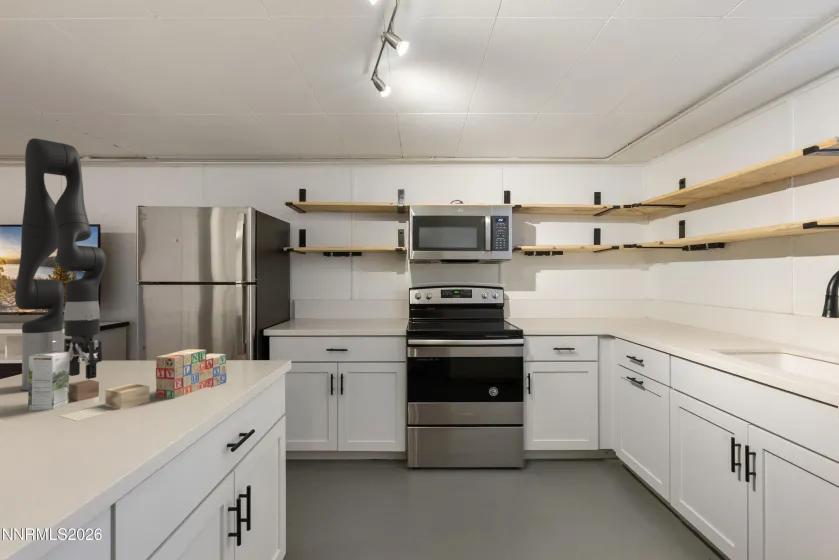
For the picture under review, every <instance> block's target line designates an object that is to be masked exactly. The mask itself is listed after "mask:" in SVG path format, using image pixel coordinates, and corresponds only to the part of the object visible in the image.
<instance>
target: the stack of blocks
mask: <svg viewBox="0 0 839 560" xmlns="http://www.w3.org/2000/svg"><path fill="white" fill-rule="evenodd" d="M155 360H156V362H155V365H156V367H155V381H156V384H155V387H156V389H155V397H156V398H167V399H176V398H177V399H178V398H179V397H183V396H185V395H188V394H191V393H194V392H196V391H197V392H198V391H200V390H202V389H204V388H205V389H206V388H209V387H211V388H213V387H212V386H214V387H216V386H215V385H217V386H219V385H222V384H225V383H226V382H227V373H228V371H227V353H225V354H224V353H207V349H193V348H191V349H190V348H188V349H184V350H183V349H182V350H179V351H175V352H171V353H168V354H162V355H158V356H156V359H155ZM224 382H225V383H224ZM221 383H222V384H221ZM218 384H219V385H218Z"/></svg>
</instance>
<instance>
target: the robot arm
mask: <svg viewBox="0 0 839 560" xmlns="http://www.w3.org/2000/svg"><path fill="white" fill-rule="evenodd" d="M24 159H25V161H24V163H25V165H24V167H25V171H24V172H25V175H24V176H25V194H24V195H25V196H24V206H23V215H22V224H21V236H20V237H21V240H20V241H21V243H20V260H19V267H18V272H17V278H16V283H15V284H16V285H15V291H14V302H15V305H16V307H17V309H19V310H21V311H22V310H23V311H25V310H27V311H28V310H29V311H30V310H32V311H34V310H35V311H36V310H47V312H46V313H44V315H42V316H40V317H38V318H35V319H32V320H29V321H25V322H24V323H22V325H21V359H22V361H21V389H22V391H28V384H29V356H31V355H36V354H40V353H45V352H50V351H64V352H69V353H70V359H69V377H74V376H79V375H80V374H81V373H80V371H81V370H80V369H81V368H80V365H81V363H80V360H81V359H83V360H84V362H85V379H86V380H92V379H95V378H96V377H97V364H98V363H101V362H103V355H102V354H103V353H102V340H101V339H95V338H94V336H95V335H99V334H100V333H101V332H100V330H101V327H100V323H101V320H100V318H101V317H100V316H101V315H100V313H101V312H100V311H101V309H100V304H99V286H100V283H101V279H102V277H103V273H104V270H105V268H106V265H107V257H106V253H105V252H104V250H103V249H102V248H100V247H98V246H90V245H78V244H77V243H79V242H84V241H86V240H89V238H91V236H92V230H91V226H90V221H89V218H88V215H87V212H86V211H87V210H86V207H85V199H84V183H83V170H82V164H81V163H82V162H81V158H80V154H79V152H78V150H77V149H76V148H75V146H73V145H70V144H68V143H63V142H56V141H52V140H46V139H41V138H36V137H35V138H34V137H33V138H31V139H29V140H28V141H27V144H26V147H25V156H24ZM45 174H47V175H55V176H62V177H64V178H65V180H66V186H65V188H64V191H63V192H62V194H61V195H60V197H59V198H58V200H57V201H56V203H55V201H54V200H53V198H52V197H51V195H50V193H49V192H48V190H47V187H46V183H45ZM55 252H56V256H55V258H56V259H55V260H56V263H57V264H58V266H59V267H60V268H61V269H62V270H63V271H64V270H65V271H69V272H84V273H83V275H82V277H81V278H78V279H73V280H69V281H67V282H66V284H65V286H64V284H63V282H62V281H61V280H60V279H45V278H44V279H39V278H38V279H34V278H35V277H36V273H37V272H38V270H39V269H40V267H41V265H43V263H44V262H45V261H46V260H47V259H48V258H49V257H50V256H51V255H53V253H55ZM64 301H65V305H64ZM63 315H64V316H63ZM63 321H64V325H63ZM63 326H64V327H63ZM63 328H64V333H63ZM63 335H64V336H66V337H67V338H64V339H63ZM63 340H64V341H63ZM63 343H64V344H63Z"/></svg>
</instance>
